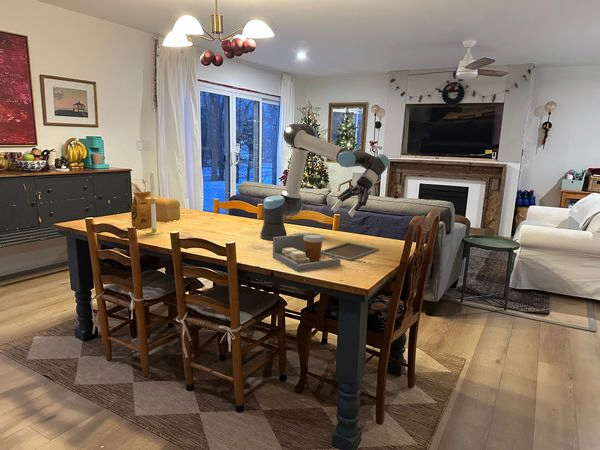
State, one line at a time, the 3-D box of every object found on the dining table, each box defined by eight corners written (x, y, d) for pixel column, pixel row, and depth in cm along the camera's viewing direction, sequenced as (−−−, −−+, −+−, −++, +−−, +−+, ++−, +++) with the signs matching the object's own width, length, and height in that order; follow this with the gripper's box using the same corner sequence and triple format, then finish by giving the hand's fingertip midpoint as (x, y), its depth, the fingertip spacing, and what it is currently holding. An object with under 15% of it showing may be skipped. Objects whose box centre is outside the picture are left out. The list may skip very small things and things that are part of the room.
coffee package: (129, 226, 256) (127, 191, 252) (149, 224, 265) (147, 189, 261) (137, 229, 250) (135, 193, 245) (156, 226, 258) (155, 191, 254)
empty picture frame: (378, 248, 218) (347, 260, 195) (378, 251, 218) (347, 263, 195) (347, 242, 230) (314, 252, 207) (347, 244, 230) (314, 255, 207)
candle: (167, 231, 246) (164, 167, 238) (154, 235, 237) (151, 168, 229) (154, 229, 250) (152, 166, 243) (141, 232, 242) (138, 167, 234)
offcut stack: (278, 259, 198) (278, 247, 196) (289, 257, 201) (289, 245, 200) (300, 269, 183) (300, 256, 182) (311, 267, 186) (311, 254, 185)
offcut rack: (272, 257, 199) (273, 237, 197) (313, 252, 210) (314, 233, 208) (296, 271, 180) (297, 248, 178) (340, 264, 191) (341, 243, 189)
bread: (180, 219, 284) (180, 197, 281) (167, 222, 272) (166, 199, 269) (154, 215, 294) (153, 194, 291) (140, 218, 283) (138, 196, 280)
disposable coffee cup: (299, 258, 199) (300, 234, 197) (318, 257, 202) (319, 233, 200) (307, 264, 190) (307, 238, 188) (326, 262, 194) (327, 237, 191)
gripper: (388, 188, 198) (361, 222, 193) (355, 183, 219) (330, 213, 214) (380, 177, 194) (353, 211, 190) (347, 173, 215) (322, 204, 211)
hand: (341, 212), depth 202 cm, fingers open, 13 cm apart
